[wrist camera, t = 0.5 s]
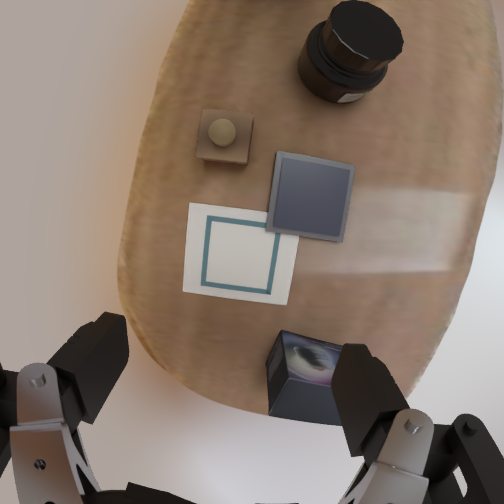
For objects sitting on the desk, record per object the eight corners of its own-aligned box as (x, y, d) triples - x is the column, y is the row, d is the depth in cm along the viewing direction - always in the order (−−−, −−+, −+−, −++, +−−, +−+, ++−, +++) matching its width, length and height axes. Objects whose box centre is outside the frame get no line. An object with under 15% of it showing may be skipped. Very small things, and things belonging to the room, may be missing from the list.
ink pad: (276, 151, 30) (277, 150, 29) (351, 165, 31) (356, 165, 29) (265, 229, 33) (265, 232, 31) (339, 240, 33) (343, 243, 31)
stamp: (209, 118, 30) (198, 103, 23) (253, 123, 30) (253, 108, 23) (203, 160, 31) (190, 155, 24) (247, 165, 31) (245, 161, 24)
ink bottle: (352, 120, 29) (398, 95, 18) (284, 86, 28) (300, 42, 17) (376, 61, 27) (421, 23, 15) (313, 29, 26) (337, -24, 15)
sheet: (190, 202, 32) (189, 202, 32) (302, 217, 32) (302, 217, 32) (183, 290, 35) (182, 291, 34) (286, 304, 35) (286, 305, 35)
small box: (350, 344, 37) (375, 391, 27) (330, 378, 38) (347, 428, 28) (281, 326, 36) (289, 377, 26) (264, 364, 38) (266, 418, 27)
